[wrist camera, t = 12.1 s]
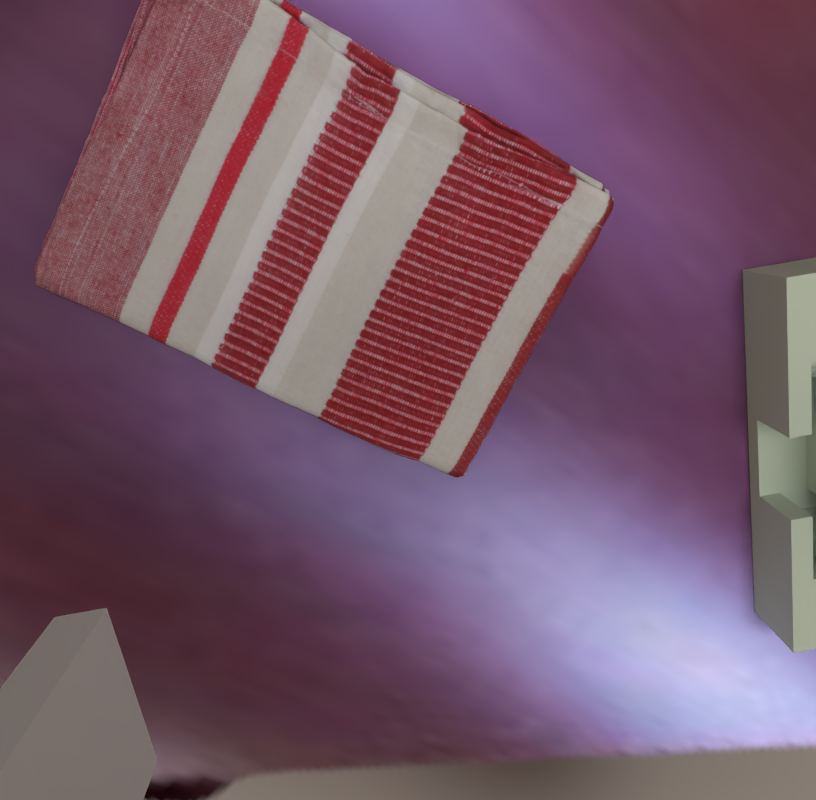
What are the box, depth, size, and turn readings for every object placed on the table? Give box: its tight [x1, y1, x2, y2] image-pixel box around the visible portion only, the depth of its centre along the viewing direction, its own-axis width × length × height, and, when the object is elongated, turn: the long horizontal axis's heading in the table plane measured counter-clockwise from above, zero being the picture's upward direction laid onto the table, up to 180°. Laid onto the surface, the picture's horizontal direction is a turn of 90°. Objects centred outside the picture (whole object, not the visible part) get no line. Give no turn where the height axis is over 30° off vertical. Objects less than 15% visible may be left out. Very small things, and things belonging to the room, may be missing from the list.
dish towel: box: [34, 0, 614, 477], centre depth 34 cm, size 17×23×3 cm
